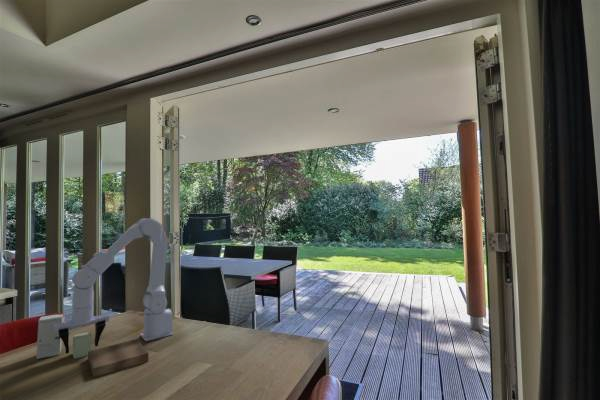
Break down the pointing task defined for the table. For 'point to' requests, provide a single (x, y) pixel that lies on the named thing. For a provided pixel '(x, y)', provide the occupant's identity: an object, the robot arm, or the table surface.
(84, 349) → the sage block
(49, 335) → the skincare box
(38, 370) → the table surface
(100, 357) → the walnut base
